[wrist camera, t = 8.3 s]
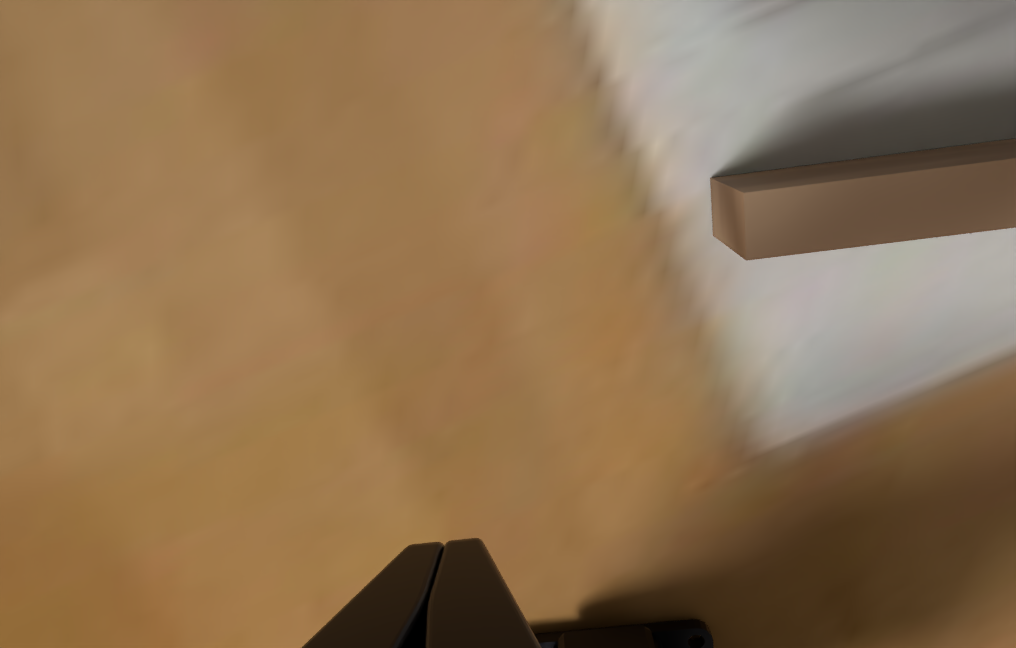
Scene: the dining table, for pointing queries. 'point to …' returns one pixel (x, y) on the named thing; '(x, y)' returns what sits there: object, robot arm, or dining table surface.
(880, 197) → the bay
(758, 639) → the dining table surface
